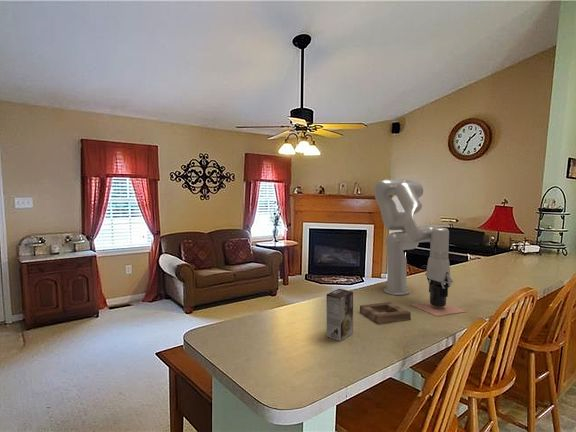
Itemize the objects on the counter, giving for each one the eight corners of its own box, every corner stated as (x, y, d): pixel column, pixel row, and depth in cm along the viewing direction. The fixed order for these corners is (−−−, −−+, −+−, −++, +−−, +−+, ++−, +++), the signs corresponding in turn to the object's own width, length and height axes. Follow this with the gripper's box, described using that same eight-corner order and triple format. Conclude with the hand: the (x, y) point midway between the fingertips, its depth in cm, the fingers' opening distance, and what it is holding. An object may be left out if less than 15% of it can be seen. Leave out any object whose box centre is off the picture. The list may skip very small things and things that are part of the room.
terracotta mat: (411, 305, 163) (411, 304, 163) (439, 301, 168) (439, 300, 168) (436, 316, 148) (436, 315, 148) (466, 312, 153) (466, 311, 153)
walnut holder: (359, 312, 154) (359, 305, 154) (389, 308, 159) (389, 301, 158) (378, 324, 140) (378, 316, 139) (410, 319, 144) (410, 312, 144)
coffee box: (338, 329, 135) (338, 288, 134) (353, 333, 131) (353, 291, 130) (325, 337, 128) (325, 293, 127) (341, 341, 124) (341, 296, 123)
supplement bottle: (447, 307, 154) (448, 280, 153) (431, 306, 155) (432, 280, 154) (444, 302, 161) (444, 276, 160) (428, 301, 162) (429, 276, 161)
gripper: (419, 252, 163) (418, 290, 165) (446, 259, 147) (445, 301, 148) (432, 251, 166) (431, 288, 167) (461, 258, 149) (459, 299, 150)
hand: (438, 294), depth 158 cm, fingers closed on supplement bottle, 6 cm apart
